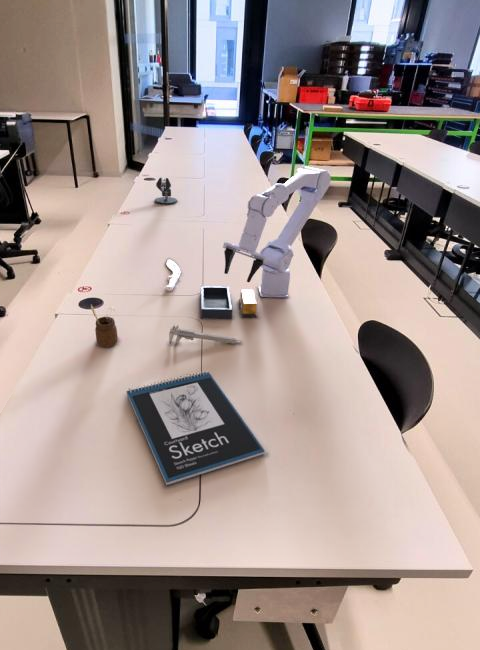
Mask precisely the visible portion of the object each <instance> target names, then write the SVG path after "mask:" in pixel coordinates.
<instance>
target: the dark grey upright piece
mask: <svg viewBox="0 0 480 650" xmlns="http://www.w3.org/2000/svg"><path fill="white" fill-rule="evenodd" d="M155 187H156V188H157V189H158V190H159V191H160V193H161V197H157V198H156V197H155V198H154V203H156V204H158V205H165V206H168V205H175V204H176V203H178V199H177V198H175V197H171V196H172V189H171V187H172V183H171V181H170V179H169V178H168V177H165V178H164V179H163V178H162V176H161V177H159V178H158V180H157V181H156V184H155Z"/></svg>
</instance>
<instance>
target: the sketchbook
mask: <svg viewBox="0 0 480 650" xmlns="http://www.w3.org/2000/svg"><path fill="white" fill-rule="evenodd" d="M146 385H147V386H146ZM136 387H137V388H135V386H134V387H133V389H132V387H129V388H128V390H127V391H126V397H127V399H128V400H129V403H130V406H131V408H132V409H133V410H132V411H133V412H134V414H135V416H136V418H137V421H138V424H139V426H140V428H141V431H142V432H143V435H144V437H145V439H146V442H147V444H148V446H149V449H150V450H151V453H152V455H153V458H154V460H155V462H156V464H157V467H158V469H159V471H160V474H161V476H162V478H163V480H164V483H165V485H166V486H170V485H173V484H177V483H180V482H183V481H186V480H189V479H192V478H195V477H199V476H201V475H202V476H203V475H205V474H208V473H211V472H214V471H217V470H220V469H223V468H227V467H229V466H233V465H235V464H239V463H243V462H244V461H248V460H251V459H254V458H258V457H260V456H264V455H265V452H266V451H265V449H264V448H263V446H262V445H261V443H260V442H259V440H258V439H257V437H255V435H254V434H253V432H252V430H251V429H250V428H249V426H248V425H247V424H246V422H245V421H244V420H243V418H242V416H240V414H239V413H238V411H237V410H236V408H235V407H234V405H233V404H232V403H231V401H230V399H229V398H228V397H227V396H226V394H225V393H224V391H223V390H222V388H221V387H220V385H219V384H218V383H217V382H216V380H215V379H214V377H213V376H212V374H211V373H210V372H209V371H206V370H202V371H199V372H195V373H189V375H188V374H186V376H185V375H183V377H182V376H181V375H180V377H179V376H177V377H173V378H170V380H169V378H167V379H163V381H162V380H160V383H159V381H157V383H156V382H155V381H154V383H152V382H150V384H148V383H147V384H143V386H142V385H140V387H139V386H136Z"/></svg>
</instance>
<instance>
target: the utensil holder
mask: <svg viewBox="0 0 480 650" xmlns="http://www.w3.org/2000/svg"><path fill="white" fill-rule="evenodd" d="M90 309H91V311H92V314H93V316H94V317H95V327H94V328H95V329H94V330H95V339H96V343H97V345H98V346H100V347H103V348H111V347H114V346H115V345H116V344H117V343H118V340H119V337H118V328H117V326H116V321H115V318H116V316H112V313H110V315H109V316H108V312H106V313H105V315H106V316H101V317H97V313H96V310H95V308H94V306H93V304H90ZM111 310H112V312H115V308H114V307H109V308H108V309H107V310H106V311H111Z"/></svg>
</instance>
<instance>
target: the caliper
mask: <svg viewBox="0 0 480 650" xmlns="http://www.w3.org/2000/svg"><path fill="white" fill-rule="evenodd" d="M179 326H180V325H179V324H177V325H175V324H173V326H171V327H170V329H169V333H168V340H169V341H168V342H169V344H170V345H171V344H172V343H173V339H174V336H176V338H175V345H178V344H179V343H180V341H181V339H182V338H184V339H185V340H190V341H194V339H199V340H205V341H213V342H219V343H225V344H231V345H236V344H241V341H240V340H239V339H237V338H236V337H230V336H224V335H219V334H218V335H217V334H212V333H205V332H198V331H196V330H194V329H187V328H181V327H179Z"/></svg>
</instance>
